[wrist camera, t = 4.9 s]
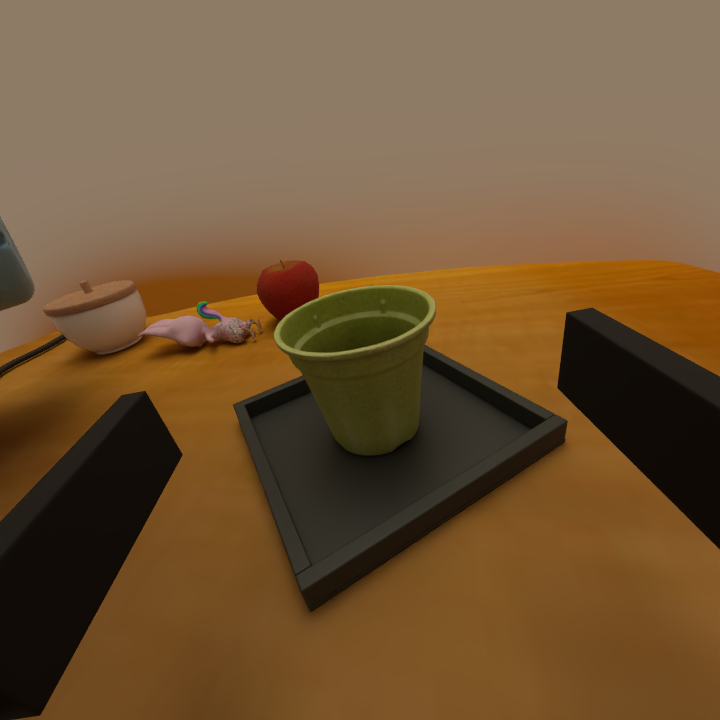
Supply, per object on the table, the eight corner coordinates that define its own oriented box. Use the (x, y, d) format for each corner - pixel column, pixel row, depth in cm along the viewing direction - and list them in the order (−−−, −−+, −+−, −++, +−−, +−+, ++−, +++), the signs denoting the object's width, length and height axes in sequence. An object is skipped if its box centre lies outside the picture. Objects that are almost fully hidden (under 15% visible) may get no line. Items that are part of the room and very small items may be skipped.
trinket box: (132, 326, 56) (101, 270, 52) (174, 329, 52) (143, 267, 47) (61, 360, 49) (18, 297, 44) (103, 367, 44) (58, 296, 39)
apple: (259, 332, 44) (238, 273, 41) (283, 308, 51) (267, 255, 47) (314, 329, 42) (298, 265, 38) (333, 304, 49) (320, 248, 45)
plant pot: (447, 480, 19) (437, 345, 15) (292, 478, 22) (245, 359, 17) (442, 384, 27) (434, 278, 23) (328, 390, 29) (302, 293, 25)
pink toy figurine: (267, 335, 47) (159, 334, 47) (260, 292, 44) (145, 292, 44) (253, 358, 41) (131, 357, 42) (244, 311, 38) (112, 310, 39)
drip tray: (239, 420, 28) (232, 404, 28) (405, 348, 34) (403, 333, 33) (310, 612, 15) (300, 591, 14) (565, 441, 21) (568, 420, 20)
